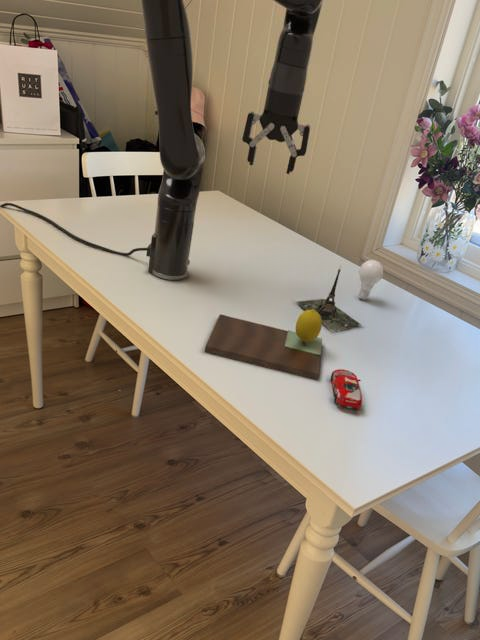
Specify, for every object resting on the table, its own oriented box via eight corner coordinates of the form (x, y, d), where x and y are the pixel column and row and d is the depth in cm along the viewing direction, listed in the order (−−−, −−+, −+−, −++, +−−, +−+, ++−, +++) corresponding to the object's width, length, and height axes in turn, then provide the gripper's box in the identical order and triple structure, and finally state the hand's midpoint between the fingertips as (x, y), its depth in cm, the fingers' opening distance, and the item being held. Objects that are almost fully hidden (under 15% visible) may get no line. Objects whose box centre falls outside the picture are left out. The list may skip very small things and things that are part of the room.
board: (204, 352, 125) (205, 345, 124) (218, 319, 138) (220, 313, 137) (316, 380, 124) (318, 373, 123) (320, 345, 137) (322, 338, 136)
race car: (328, 375, 127) (333, 359, 125) (353, 380, 127) (359, 363, 125) (333, 410, 116) (339, 393, 114) (360, 415, 117) (366, 398, 114)
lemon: (315, 350, 131) (324, 318, 126) (290, 344, 131) (299, 311, 127) (317, 339, 135) (326, 307, 131) (293, 333, 136) (302, 301, 131)
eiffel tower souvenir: (361, 327, 149) (379, 277, 142) (332, 332, 144) (348, 280, 136) (323, 300, 158) (338, 251, 151) (294, 303, 153) (307, 253, 145)
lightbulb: (376, 299, 166) (389, 261, 159) (370, 306, 161) (383, 267, 154) (354, 291, 167) (366, 253, 161) (348, 298, 162) (360, 260, 156)
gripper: (319, 94, 129) (301, 172, 139) (255, 79, 129) (241, 158, 139) (318, 98, 123) (298, 180, 133) (250, 82, 123) (236, 165, 133)
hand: (269, 168), depth 136 cm, fingers open, 8 cm apart
